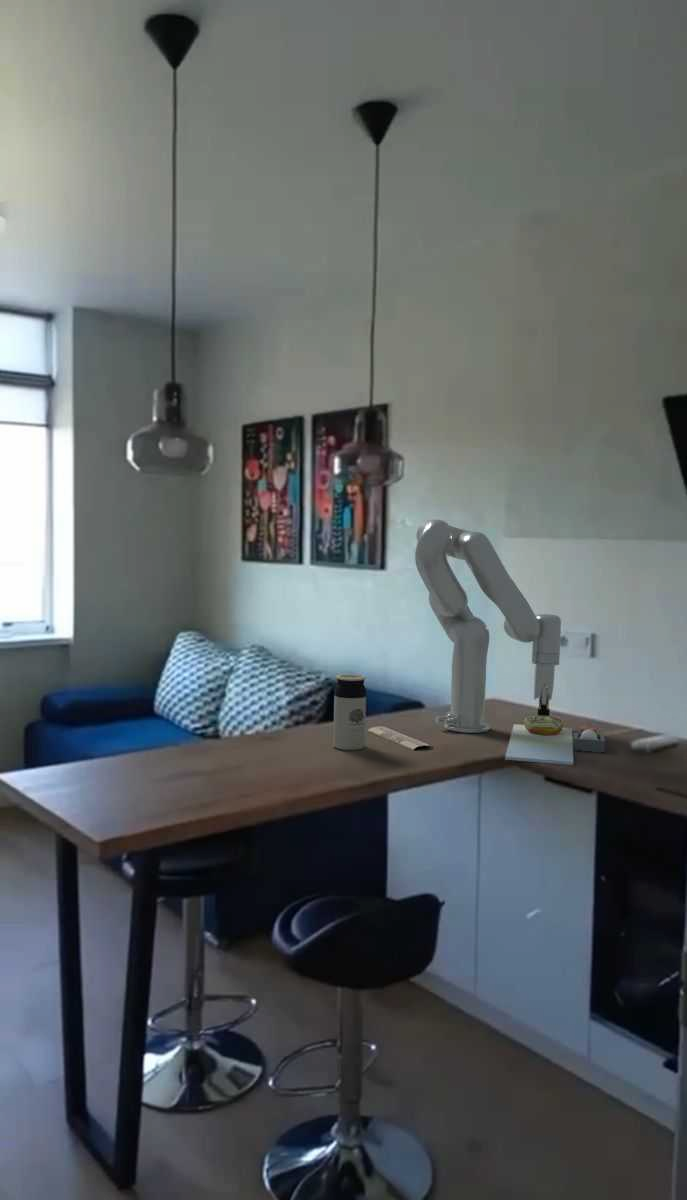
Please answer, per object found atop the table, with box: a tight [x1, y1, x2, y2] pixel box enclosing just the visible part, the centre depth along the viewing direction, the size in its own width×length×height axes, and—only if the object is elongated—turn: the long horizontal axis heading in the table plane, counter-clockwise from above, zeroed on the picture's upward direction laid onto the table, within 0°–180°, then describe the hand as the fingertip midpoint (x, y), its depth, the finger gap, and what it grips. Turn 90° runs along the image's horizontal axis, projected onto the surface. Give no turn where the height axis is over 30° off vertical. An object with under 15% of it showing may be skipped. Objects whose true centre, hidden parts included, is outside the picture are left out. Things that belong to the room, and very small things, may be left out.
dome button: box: [580, 729, 598, 740], centre depth 231 cm, size 5×5×4 cm
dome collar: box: [572, 732, 606, 753], centre depth 231 cm, size 8×8×3 cm
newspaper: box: [367, 725, 434, 751], centre depth 236 cm, size 24×7×2 cm, turn 27°
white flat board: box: [504, 723, 574, 766], centre depth 234 cm, size 39×16×1 cm, turn 166°
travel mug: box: [332, 673, 367, 751], centre depth 225 cm, size 8×8×18 cm
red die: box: [579, 725, 597, 734], centre depth 238 cm, size 4×4×4 cm
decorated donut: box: [523, 715, 564, 735], centre depth 246 cm, size 10×11×4 cm
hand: (543, 722), depth 253 cm, fingers closed
